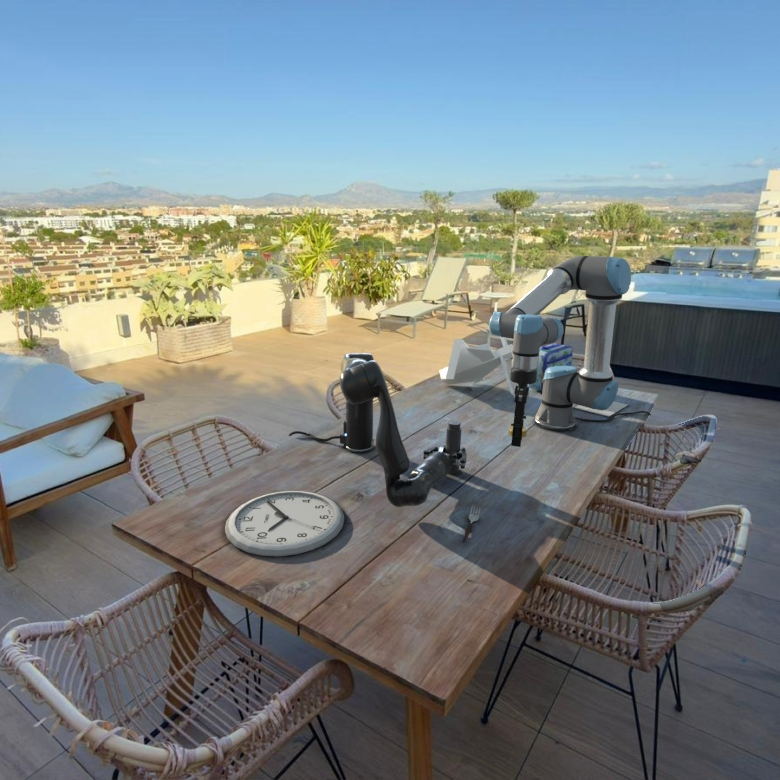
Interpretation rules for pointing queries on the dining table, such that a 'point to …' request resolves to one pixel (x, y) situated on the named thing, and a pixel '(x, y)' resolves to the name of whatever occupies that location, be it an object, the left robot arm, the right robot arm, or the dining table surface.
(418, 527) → the dining table surface
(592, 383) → the right robot arm
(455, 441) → the dark grey cylinder
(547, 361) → the lunch box
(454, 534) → the dining table surface
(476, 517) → the fork
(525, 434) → the lid
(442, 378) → the white plastic object
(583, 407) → the invitation card
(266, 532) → the wall clock
